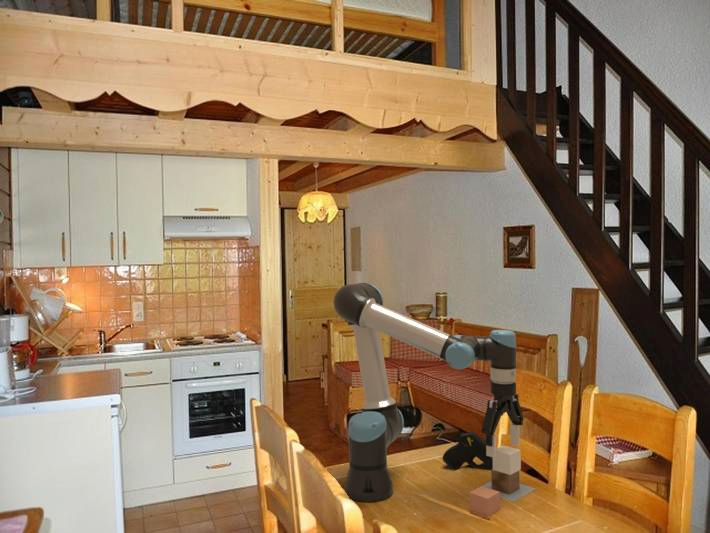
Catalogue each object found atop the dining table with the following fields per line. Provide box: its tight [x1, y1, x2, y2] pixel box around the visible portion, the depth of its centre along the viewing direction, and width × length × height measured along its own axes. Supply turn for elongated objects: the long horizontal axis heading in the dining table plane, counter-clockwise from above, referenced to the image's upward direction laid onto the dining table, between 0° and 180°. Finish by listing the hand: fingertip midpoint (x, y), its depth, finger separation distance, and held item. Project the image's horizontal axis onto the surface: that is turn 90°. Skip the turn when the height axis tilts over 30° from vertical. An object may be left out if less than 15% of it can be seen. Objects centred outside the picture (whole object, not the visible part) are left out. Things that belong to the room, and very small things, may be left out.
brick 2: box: [490, 469, 521, 495], centre depth 167 cm, size 6×6×6 cm
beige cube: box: [493, 445, 522, 475], centre depth 167 cm, size 6×6×6 cm
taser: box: [442, 431, 493, 471], centre depth 186 cm, size 4×18×15 cm
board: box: [482, 480, 536, 503], centre depth 167 cm, size 13×13×1 cm
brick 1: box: [468, 485, 501, 521], centre depth 154 cm, size 6×6×6 cm
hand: (503, 450), depth 168 cm, fingers open, 13 cm apart
